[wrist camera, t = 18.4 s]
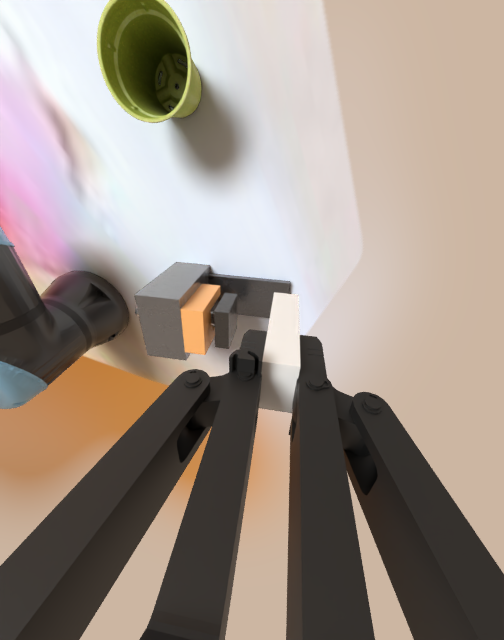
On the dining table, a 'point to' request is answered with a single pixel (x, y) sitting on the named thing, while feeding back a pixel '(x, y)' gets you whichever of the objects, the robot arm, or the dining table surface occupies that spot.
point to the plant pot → (147, 60)
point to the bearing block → (176, 289)
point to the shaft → (223, 320)
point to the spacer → (199, 319)
